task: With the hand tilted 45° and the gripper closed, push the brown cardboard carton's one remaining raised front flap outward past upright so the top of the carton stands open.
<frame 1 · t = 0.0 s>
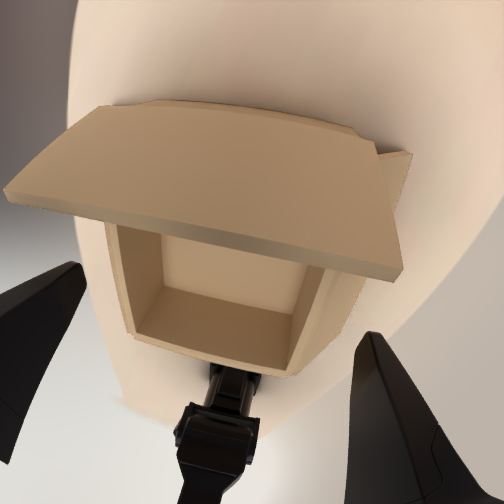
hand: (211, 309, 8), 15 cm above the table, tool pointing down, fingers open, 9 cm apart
flap: (192, 155, 10), point 11 cm above the table, hinge at 105.0°
carton: (236, 220, 23), on the table
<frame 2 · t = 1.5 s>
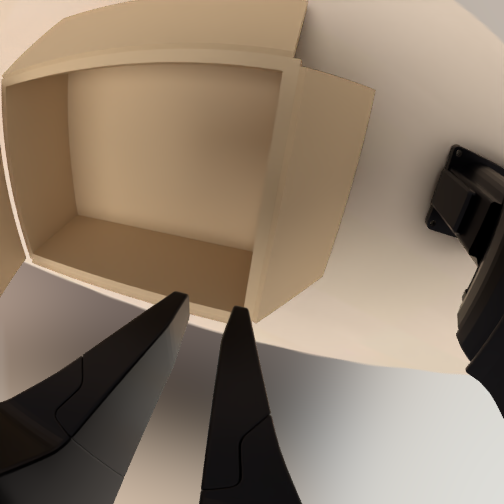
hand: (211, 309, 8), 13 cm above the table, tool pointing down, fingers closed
carton: (158, 151, 19), on the table
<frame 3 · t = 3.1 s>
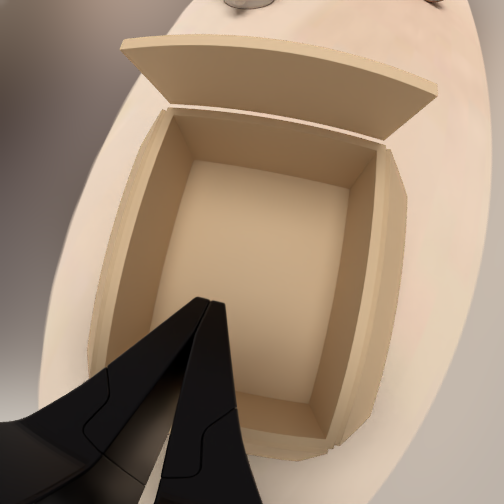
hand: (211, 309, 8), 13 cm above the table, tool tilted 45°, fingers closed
flap: (275, 84, 12), point 11 cm above the table, hinge at 105.0°
cup: (246, 3, 28), on the table
carton: (248, 278, 22), on the table
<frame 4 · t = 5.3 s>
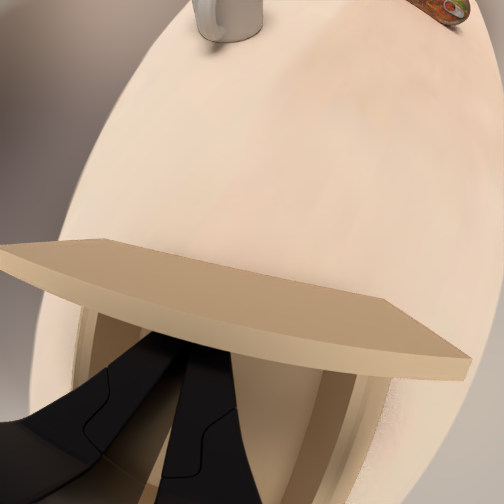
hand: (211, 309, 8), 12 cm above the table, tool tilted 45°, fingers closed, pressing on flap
flap: (219, 292, 9), point 11 cm above the table, hinge at 104.9°, touching gripper
tin: (420, 7, 27), on the table
cup: (226, 34, 25), on the table
carton: (216, 413, 18), on the table
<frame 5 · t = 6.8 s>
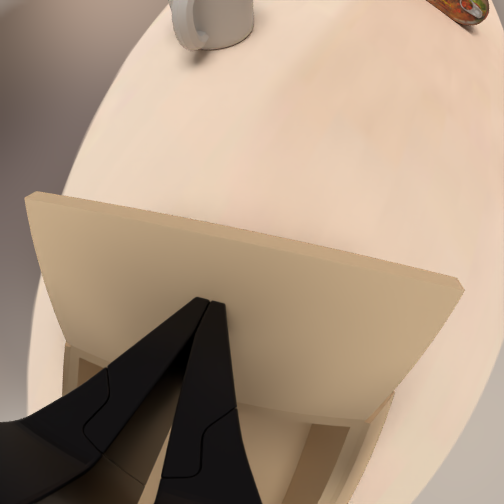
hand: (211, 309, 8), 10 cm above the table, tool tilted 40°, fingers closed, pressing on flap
flap: (210, 331, 9), point 10 cm above the table, hinge at 38.6°, touching gripper
tin: (433, 3, 23), on the table
cup: (212, 38, 22), on the table
carton: (204, 463, 17), on the table
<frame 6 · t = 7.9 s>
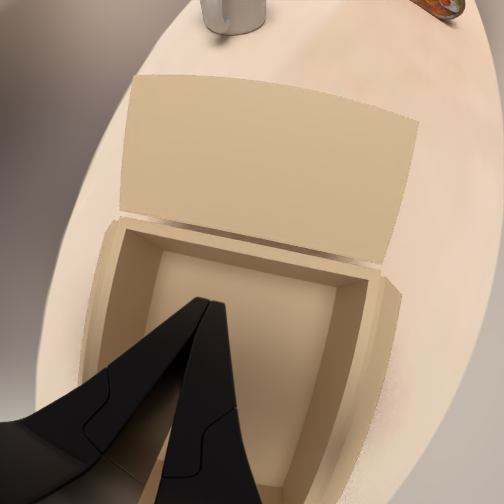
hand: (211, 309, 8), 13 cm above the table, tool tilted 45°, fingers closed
flap: (258, 159, 12), point 9 cm above the table, hinge at 32.0°
tin: (417, 3, 28), on the table
cup: (231, 27, 26), on the table
carton: (223, 381, 20), on the table
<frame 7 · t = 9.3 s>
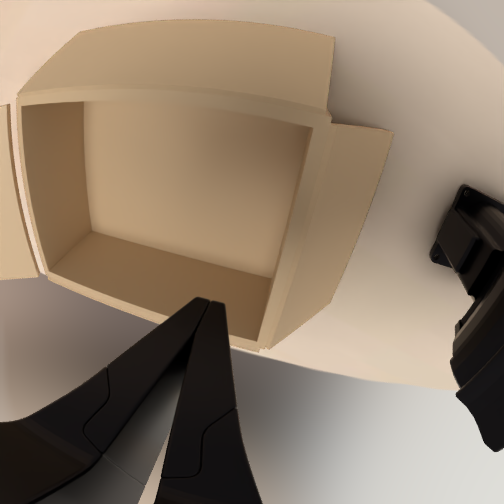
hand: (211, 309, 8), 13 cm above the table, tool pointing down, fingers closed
carton: (176, 177, 20), on the table
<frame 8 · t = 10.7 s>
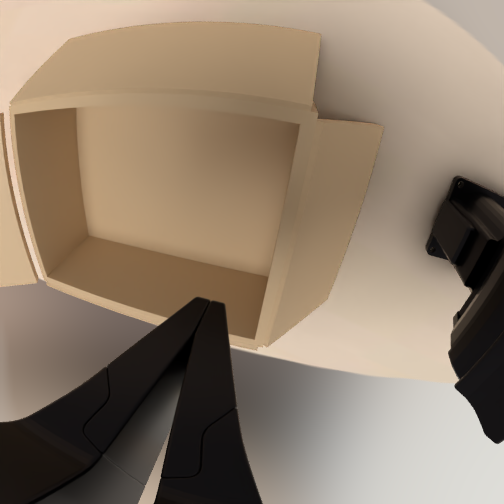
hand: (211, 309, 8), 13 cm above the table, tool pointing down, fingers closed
carton: (170, 179, 20), on the table
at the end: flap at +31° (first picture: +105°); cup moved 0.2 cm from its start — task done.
